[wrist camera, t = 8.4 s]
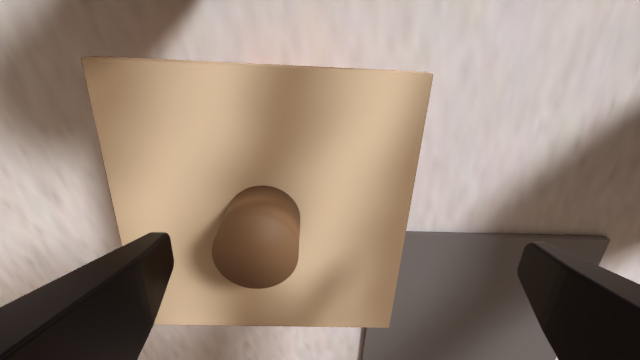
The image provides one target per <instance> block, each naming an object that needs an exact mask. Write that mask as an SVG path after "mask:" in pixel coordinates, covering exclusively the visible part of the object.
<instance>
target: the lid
mask: <svg viewBox="0 0 640 360" xmlns="http://www.w3.org/2000/svg"><path fill="white" fill-rule="evenodd" d="M81 61H82V65H83V70H84V74H85V79H86V84H87V88H88V93H89V97H90V102H91V106H92V111H93V115H94V120H95V125H96V129H97V134H98V138H99V143H100V147H101V152H102V157H103V161H104V166H105V170H106V175H107V179H108V184H109V188H110V193H111V198H112V202H113V207H114V211H115V216H116V220H117V225H118V229H119V234H120V239H121V243H122V246H124V245H126V244H128V243H130V242H132V241H134V240H136V239H138V238H140V237H142V236H144V235H146V234H148V233H150V232H166V233H168V234H169V236H170V239H171V245H172V251H173V257H174V267H173V271H172V274H171V277H170V279H169V282H168V285H167V288H166V291H165V294H164V297H163V300H162V302H161V305H160V308H159V311H158V314H157V317H156V319H155V322H154V324H168V325H237V326H305V327H373V328H389V325H390V319H391V313H392V307H393V302H394V296H395V290H396V285H397V279H398V273H399V268H400V262H401V256H402V250H403V245H404V239H405V233H406V228H407V222H408V216H409V211H410V205H411V199H412V193H413V188H414V182H415V176H416V171H417V165H418V159H419V154H420V148H421V142H422V136H423V131H424V125H425V119H426V114H427V108H428V102H429V97H430V91H431V85H432V79H433V74H430V73H428V72H418V71H397V70H376V69H355V68H334V67H314V66H293V65H272V64H251V63H230V62H210V61H189V60H168V59H147V58H127V57H106V56H91V57H84V58H81Z"/></svg>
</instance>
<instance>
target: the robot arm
mask: <svg viewBox="0 0 640 360" xmlns="http://www.w3.org/2000/svg"><path fill="white" fill-rule="evenodd" d="M173 267H174V257H173V251H172V245H171V239H170V236H169V234H168V233H166V232H150V233H148V234H146V235H144V236H142V237H140V238H138V239H136V240H134V241H132V242H130V243H128V244H126V245H124V246H122V247H120V248H118V249H116V250H114V251H112V252H110V253H108V254H106V255H104V256H102V257H100V258H98V259H96V260H94V261H92V262H90V263H88V264H86V265H84V266H82V267H80V268H78V269H76V270H74V271H72V272H70V273H68V274H66V275H64V276H62V277H60V278H58V279H56V280H54V281H52V282H50V283H48V284H46V285H44V286H42V287H40V288H38V289H36V290H34V291H32V292H30V293H28V294H26V295H24V296H22V297H20V298H18V299H16V300H14V301H12V302H10V303H8V304H6V305H4V306H2V307H0V360H137V359H138V356H139V354H140V352H141V350H142V348H143V346H144V344H145V342H146V340H147V338H148V336H149V333H150V331H151V329H152V327H153V325H154V322H155V319H156V317H157V314H158V311H159V308H160V305H161V302H162V300H163V297H164V294H165V291H166V288H167V285H168V282H169V279H170V277H171V274H172V271H173ZM517 275H518V278H519V280H520V283H521V285H522V287H523V289H524V292H525V294H526V296H527V298H528V300H529V303H530V305H531V307H532V309H533V312H534V314H535V316H536V318H537V320H538V323H539V325H540V327H541V329H542V331H543V333H544V335H545V337H546V338H547V340H548V342H549V344H550V346H551V347H552V349H553V351H554V353H555V354H556V356H557V358H558V360H640V284H637V283H635V282H633V281H631V280H629V279H626V278H624V277H622V276H620V275H617V274H615V273H613V272H611V271H609V270H606V269H604V268H602V267H600V266H597V265H595V264H593V263H591V262H589V261H586V260H584V259H582V258H580V257H577V256H575V255H573V254H571V253H568V252H566V251H564V250H562V249H560V248H557V247H555V246H553V245H551V244H548V243H546V242H528V243H527V244H526V245H525V247H524V249H523V252H522V255H521V258H520V261H519V264H518V268H517Z"/></svg>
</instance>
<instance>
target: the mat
mask: <svg viewBox="0 0 640 360" xmlns="http://www.w3.org/2000/svg"><path fill="white" fill-rule="evenodd" d="M609 241H610V240H609V239H608V238H607V237H605V236H567V235H529V234H490V233H451V232H413V231H406V233H405V239H404V245H403V250H402V256H401V262H400V268H399V273H398V279H397V285H396V290H395V296H394V302H393V307H392V313H391V319H390V325H389V328H373V327H366V329H365V336H364V343H363V351H362V358H361V360H555V358H556V354H555V353H554V351H553V349H552V347H551V346H550V344H549V342H548V340H547V338H546V337H545V335H544V333H543V331H542V329H541V327H540V325H539V323H538V320H537V318H536V316H535V314H534V312H533V309H532V307H531V305H530V303H529V300H528V298H527V296H526V294H525V292H524V289H523V287H522V285H521V283H520V280H519V278H518V275H517V268H518V264H519V261H520V258H521V255H522V252H523V249H524V247H525V245H526V244H527V243H528V242H546V243H548V244H551V245H553V246H555V247H557V248H560V249H562V250H564V251H566V252H568V253H571V254H573V255H575V256H577V257H580V258H582V259H584V260H586V261H589V262H591V263H593V264H595V265H597V266H598V265H599V263H600V261H601V258H602V256H603V254H604V252H605V250H606V248H607V245H608V243H609Z"/></svg>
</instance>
